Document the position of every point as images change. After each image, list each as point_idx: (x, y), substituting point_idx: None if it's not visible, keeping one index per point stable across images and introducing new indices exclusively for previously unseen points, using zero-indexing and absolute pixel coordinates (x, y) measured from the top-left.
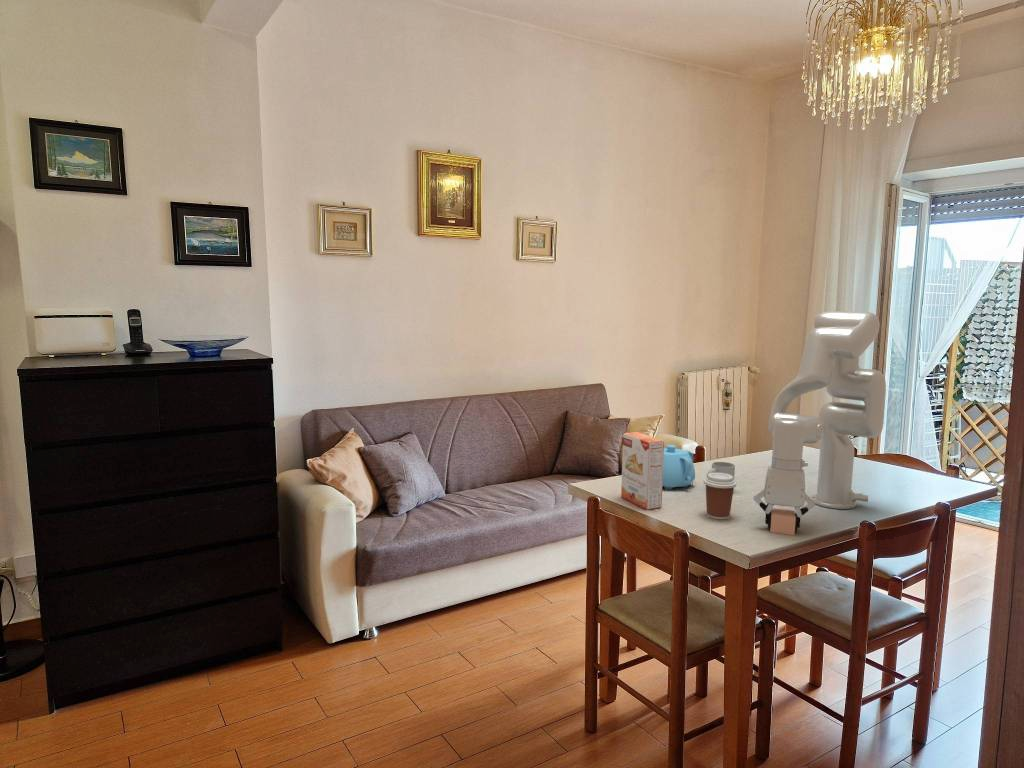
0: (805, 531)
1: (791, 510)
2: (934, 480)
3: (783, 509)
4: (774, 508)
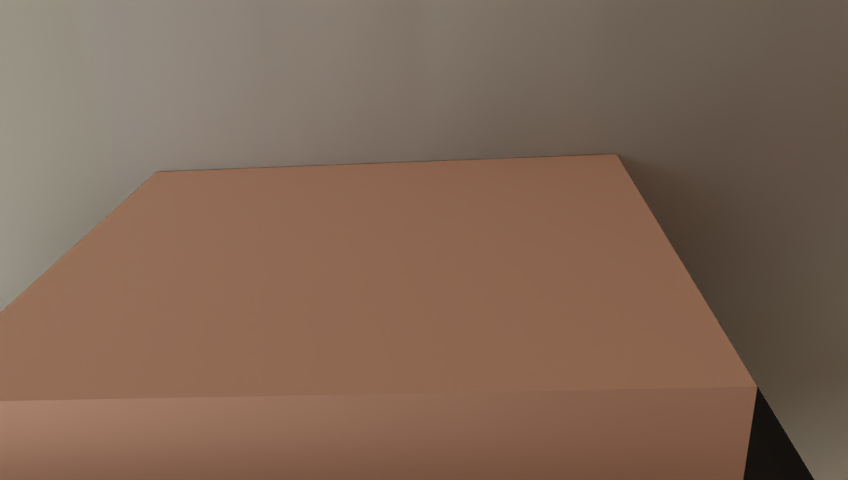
0: (837, 260)
1: (638, 417)
2: None
3: (342, 407)
4: (21, 409)
